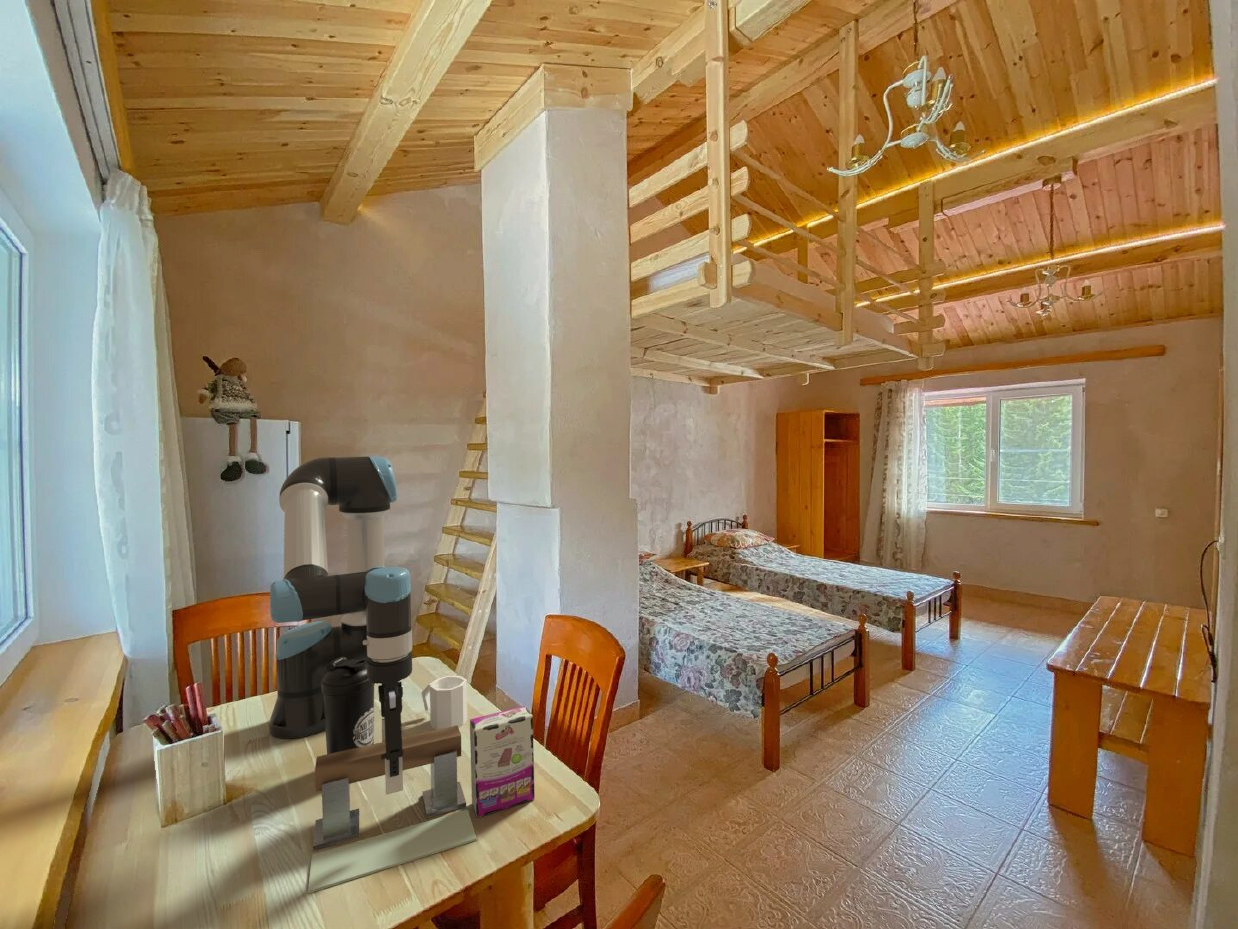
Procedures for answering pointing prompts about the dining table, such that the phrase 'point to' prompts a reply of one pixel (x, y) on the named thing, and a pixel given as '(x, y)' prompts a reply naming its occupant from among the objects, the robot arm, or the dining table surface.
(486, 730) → the candy bar box
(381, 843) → the mat
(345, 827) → the post
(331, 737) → the water bottle
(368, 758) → the rail
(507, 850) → the dining table surface
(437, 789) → the post
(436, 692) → the mug
